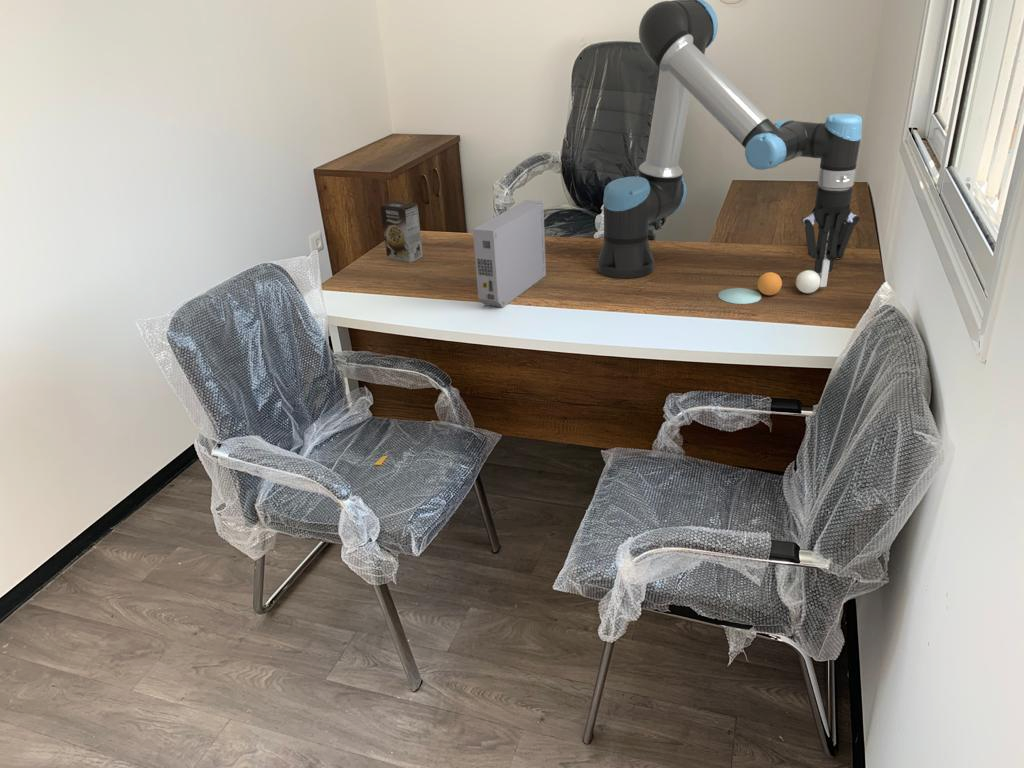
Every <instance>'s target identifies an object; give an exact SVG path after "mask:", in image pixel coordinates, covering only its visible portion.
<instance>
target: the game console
mask: <svg viewBox="0 0 1024 768" xmlns="http://www.w3.org/2000/svg"><path fill="white" fill-rule="evenodd" d="M544 215H545V214H544V202H543V201H542V200H532V199H525V200H523V201H522V202H520V203H518V204H516V205H514V206H512V207H510V208H509V209H507V210H506V211H503V212H501V213H500V214H498V215H496V216H495V217H493V218H491V219H489V220H487V221H485V222H484V223H482V224H480V225H478V226H476V227H474V228H472V239H473V247H474V248H473V249H474V260H475V273H476V275H475V276H476V287H477V298H478V300H479V302H481V304H482V305H484V306H490V307H497V308H505V306H507V305H508V304H510V303H511V302H512V301H514V300H515V299H516V298H517V297H519V296H520V295H522V294H523V293H525V292H526V291H527V290H528V289H531V287H532V286H534V285H535V284H536V283H538V282H539V281H540V280H541V279H543V278H545V276H547V265H546V244H545V243H546V241H545V238H546V237H545V216H544Z"/></svg>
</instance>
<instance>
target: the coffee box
mask: <svg viewBox="0 0 1024 768" xmlns="http://www.w3.org/2000/svg"><path fill="white" fill-rule="evenodd" d="M379 207H380V213H381V221H382V228H383V237H384V243H385V248H386V249H385V251H386V258H387V260H391V261H397V262H403V263H410V264H411V263H413V262H415V261H417V260H419V258H420V259H421V257H422V258H423V257H424V254H423V246H422V236H421V227H420V215H419V206H418V203H416V202H409V201H408V202H407V201H400V200H392V201H390V202H385V203H383V204H381V205H380V206H379Z"/></svg>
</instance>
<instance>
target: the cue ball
mask: <svg viewBox="0 0 1024 768" xmlns="http://www.w3.org/2000/svg"><path fill="white" fill-rule="evenodd" d="M820 282H821V281H820V277H819V275H818V274H817V273H816V272H815V270H812V269H807V270H803V271H800V273H798V275H797V276H796V279H795V286H796V288H797V289H798V291H800V292H802V293H803V294H812V293H814V292H816V291H817V290H818V289H819V288H820Z"/></svg>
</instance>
